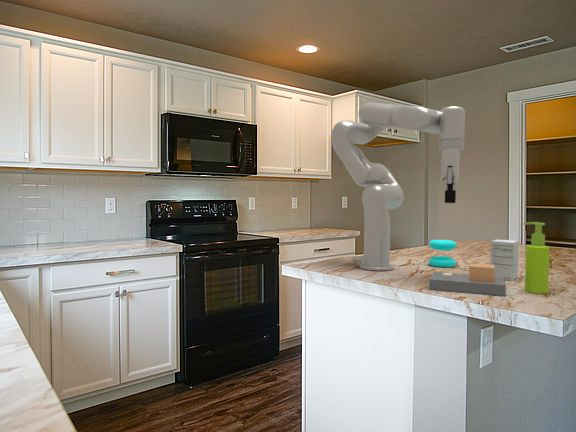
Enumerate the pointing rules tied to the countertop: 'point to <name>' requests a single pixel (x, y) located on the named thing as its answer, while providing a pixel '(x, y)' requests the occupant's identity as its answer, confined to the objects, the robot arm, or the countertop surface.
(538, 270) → the soap dispenser
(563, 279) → the countertop surface
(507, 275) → the supplement box
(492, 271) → the plug
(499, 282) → the socket
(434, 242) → the donuts
